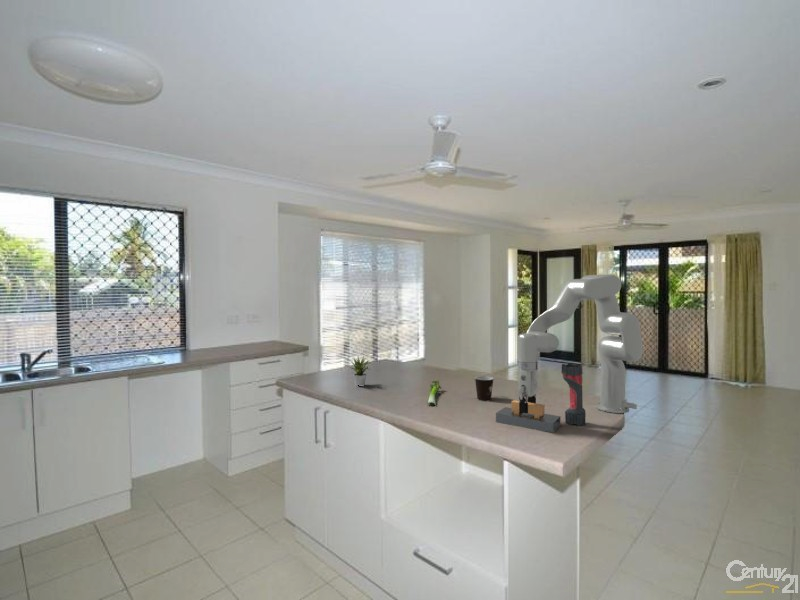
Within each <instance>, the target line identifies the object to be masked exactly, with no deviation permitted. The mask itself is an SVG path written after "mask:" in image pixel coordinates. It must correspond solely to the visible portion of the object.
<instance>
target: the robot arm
mask: <svg viewBox="0 0 800 600" xmlns="http://www.w3.org/2000/svg"><path fill="white" fill-rule="evenodd" d="M621 288H622V281H621V279H620V277H618V276H617V275H615V274H587V275H584V276H583V277H581V278H574V279H573V278H571V279H569V280H567V282H565V284H564V285H563V287H562V289H561V290H560V292H559V294H558V295H557V297H556V298H555V300H554V302H553V303H552V305H551V307H549V308H548V309H547V310H545V311H544V312H543V313H541V314H540V315H539V316H537V317H536V318H535V319H534V320H533V321H532V323H531V324H530V326H529V327H528V328H527V331H526V332H525V333H524V332H523V333H519V334H518V336H517V370H519V371H518V372H519V373H518V401H519V412H521V413H528V403H527V402H530V403H536V404H537V394H538V393H539V377H538V376H539V375H538V371H539V352H541V353H553V352H555V351H556V350H558V349H559V345H560V340H559V338H558V336H557V335H555V334H554V333H550V332H547V330H549V329H550V328H551V327H553V326H555V325H557V324H560V323H563V322H566V321H569V320H570V319H571V318H572V316H574V314H575V311H576V309H577V308H578V306H579V305H580V303H581V301H594V303H595V306H596V314H597V321H598V326H599V330H600V331H601V332H603V333H604V334H608V335H607V336H603V337H602V338H600V340H599V341H598V345H597V348H598V354H599V359H600V397H599V398H600V402H599V403H597V404H596V408H597V409H598V410H600V411H602V412H605V411H606V412H607V413H610V412H611V414H612V413H613V414H626V413H629V412H630V409H633V410H637V409H638V404H636V403H635V402H628V399H627V398H626V366H625V364H624V362H623V361H625V362H632V363H633V362H634V363H635V362H637V361H640V359H641V358H642V356H643V353H644V352H643V351H644V349H643V340H642V332H641V325H640V321H639V319H638V318H637V316H636V315H634V314H633V313H630V312H623V311H622V312H621V311H620V306H619V301H618V298H617V296H616V295H617V294H618V293H619V292H620V291H621ZM617 335H618V336H617ZM620 408H621V409H622V410H621V409H620Z"/></svg>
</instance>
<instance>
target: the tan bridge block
mask: <svg viewBox="0 0 800 600" xmlns="http://www.w3.org/2000/svg"><path fill="white" fill-rule="evenodd" d="M527 403H528V413H529V414H534V418H539V419H541V418H542V415H544V414H545V404H541V403H537V402H536V403H530V402H527ZM510 405H511V407H510V408H511V411H514V414H516V415H521V412H519V400H516V399H514V400H512V401H511V404H510Z"/></svg>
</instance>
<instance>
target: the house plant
mask: <svg viewBox="0 0 800 600" xmlns="http://www.w3.org/2000/svg"><path fill="white" fill-rule="evenodd" d="M352 359H353V361H354V362H353V361H351V360H350V363H351V364H352V365H353V366H354V367H349V369H352V370H354V371H355V373H353V381H354V386H355V385H366V379H367V373H365V372H366V370H369V371H370V370H371V369H370V365H368V364H369V363H370V361H372V358H371V359H367V360H366V357H365V356H364V355H363V356H362V359H361V361H360V358H359V356H357V359H356V358H354V357H353V358H352ZM365 360H366V361H365Z"/></svg>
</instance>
